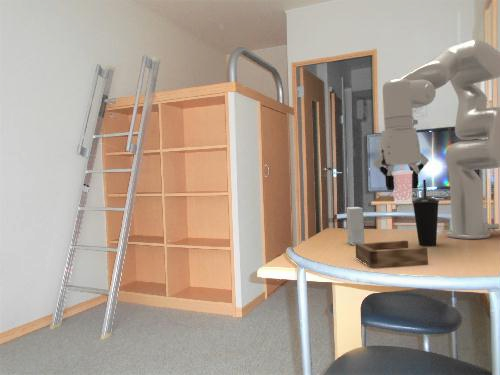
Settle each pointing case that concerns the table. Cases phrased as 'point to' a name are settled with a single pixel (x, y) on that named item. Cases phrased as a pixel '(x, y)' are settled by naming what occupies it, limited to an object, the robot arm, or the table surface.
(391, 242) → the dark wooden tray
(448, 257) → the table surface
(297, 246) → the table surface
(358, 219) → the skincare box
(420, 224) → the drinking cup
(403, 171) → the beverage cup
